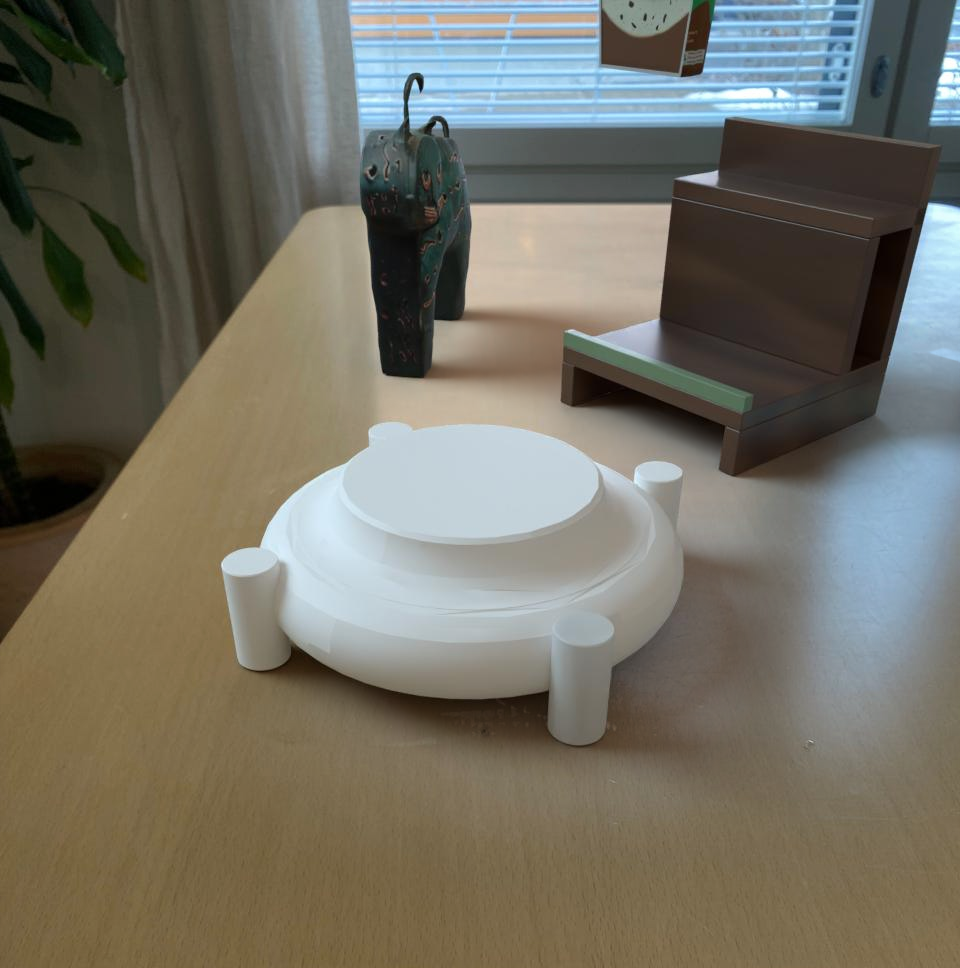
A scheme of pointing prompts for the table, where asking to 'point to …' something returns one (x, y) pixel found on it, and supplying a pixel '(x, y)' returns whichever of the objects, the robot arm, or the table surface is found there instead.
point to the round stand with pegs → (466, 570)
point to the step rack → (774, 288)
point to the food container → (655, 35)
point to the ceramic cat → (414, 236)
